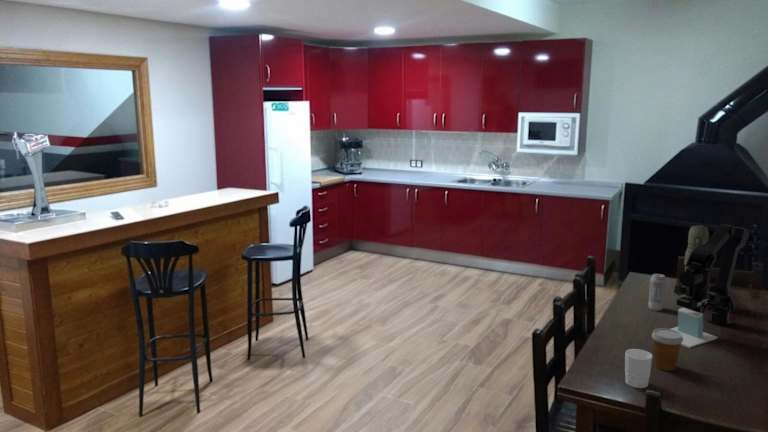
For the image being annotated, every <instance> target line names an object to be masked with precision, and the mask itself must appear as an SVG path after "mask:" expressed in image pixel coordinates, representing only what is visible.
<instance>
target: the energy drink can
mask: <svg viewBox="0 0 768 432" xmlns="http://www.w3.org/2000/svg"><path fill="white" fill-rule="evenodd" d="M665 276H666V275H664V274H660V273H653V274H652V276H651V277H650V279H649V291H648V292H649V293H648V305H647V307H648V308H649V309H650V310H652V311H655V312H656V311H657V312H661V311H662V310H663V309H665V298H666V297H665V296H666V285H667V284H666V282H667V279H666V277H665Z"/></svg>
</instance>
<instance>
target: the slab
mask: <svg viewBox="0 0 768 432" xmlns="http://www.w3.org/2000/svg"><path fill="white" fill-rule="evenodd" d="M677 327H678V331H680V332H682V333H685V334H688V335H691V336H693V337H696V338H699V337H701V336H703V332H704V314H702V313H699V312H696V311H693V310H691V309H688V308H685V307H681V308H679V309H677Z"/></svg>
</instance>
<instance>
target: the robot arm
mask: <svg viewBox="0 0 768 432" xmlns="http://www.w3.org/2000/svg"><path fill="white" fill-rule="evenodd" d="M749 237H750V233H749V231H748V230H747V228H746V227H739V226H734V225H731V224H719V225H718V227H717V230H716V231H715V232H714V233H713V234H712V236H710V237H709V238H708V241H707V242H706V243H705V244H703V245H699V246H698V247H696V248H695V249H694V250H693V251H692V252H691V254H690V256H689V259H688V261H687V263H686V267H689V268H686V271H685V270H684V271H682V272H681V273H680V275H679V282H680V284H679V285H678V284H677V285H674V289H673V292H674V294H675V295H676V296H677V297H678V298H677V299H675V300H676V301H675V305H676V306H678V307H681V308H683V307H684V308H687V309H690V310H693V311H696V312H699V313H702V314H703V315H704V314H705V312H706V311H707V310H708V309H709V307H711V308H712V309H711V311H712V312H711V318H709V319H707V322H709V323H712V324H715V325H717V326H718V325H719V326H720V327H721V326H722V327H724V326H728V325H731V324H732V323H733V322H732V321H730V320H729V315H730V312H735V310H736V307H737V306H736V305H737V304H736V302H735V300H734V298H733V296H734V295H733V294H734V292H733V290H732V287H731V284H732V280H733V276H734V271H735V267H736V263H737V260H738V259H737V258H738V256H739V253H740V252H739V251H740V250H741V249H742V248H743V247H744V246H746V244H747V240H749ZM723 245H724V251H723V255H722V257H721V258H722V259H721V263H720V267H719V271H718V275H717V279H716V282H715V283H713V285H711V284H710V276H711V270H713V265H714V264H715V262H716V261H717V253H718V252H719V250H720V249H721V248H722V247H723ZM692 262H693V263H692ZM694 263H697V264H694ZM699 264H701V265H699ZM681 295H686V296H687V297H681ZM679 296H680V297H679ZM688 297H691V298H688Z"/></svg>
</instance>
